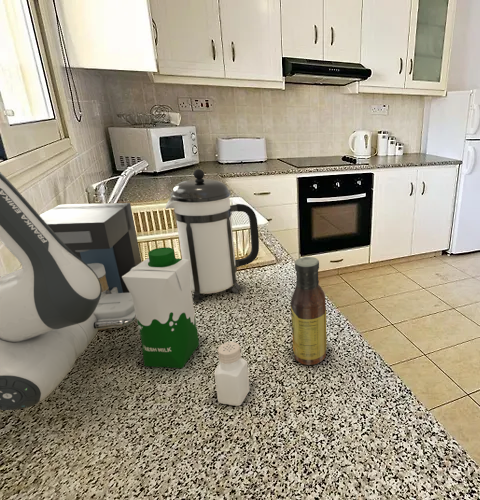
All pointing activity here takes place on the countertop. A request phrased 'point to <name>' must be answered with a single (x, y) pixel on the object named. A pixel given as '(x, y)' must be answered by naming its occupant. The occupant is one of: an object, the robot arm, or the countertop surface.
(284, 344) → the countertop surface
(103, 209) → the coffee maker
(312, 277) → the sauce bottle
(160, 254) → the milk carton
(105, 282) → the sprinkles bottle
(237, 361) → the salt shaker
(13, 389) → the robot arm
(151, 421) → the countertop surface
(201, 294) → the coffee press
